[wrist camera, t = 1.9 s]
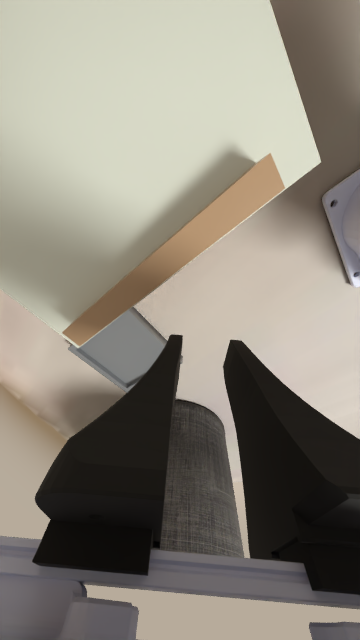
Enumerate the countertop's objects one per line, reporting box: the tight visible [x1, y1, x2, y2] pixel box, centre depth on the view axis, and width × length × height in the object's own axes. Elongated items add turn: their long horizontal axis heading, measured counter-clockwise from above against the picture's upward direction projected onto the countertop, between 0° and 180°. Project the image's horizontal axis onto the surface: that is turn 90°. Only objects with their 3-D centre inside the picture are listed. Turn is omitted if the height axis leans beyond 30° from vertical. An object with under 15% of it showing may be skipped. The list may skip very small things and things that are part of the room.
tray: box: [68, 307, 183, 393], centre depth 23 cm, size 10×10×1 cm
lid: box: [0, 0, 321, 348], centre depth 8 cm, size 15×19×2 cm
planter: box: [152, 400, 244, 558], centre depth 26 cm, size 18×18×16 cm
